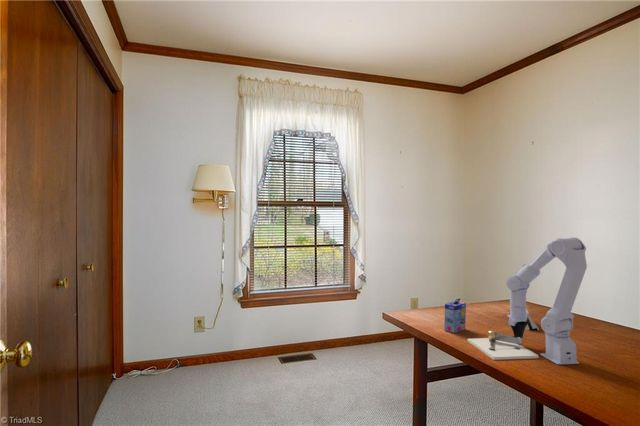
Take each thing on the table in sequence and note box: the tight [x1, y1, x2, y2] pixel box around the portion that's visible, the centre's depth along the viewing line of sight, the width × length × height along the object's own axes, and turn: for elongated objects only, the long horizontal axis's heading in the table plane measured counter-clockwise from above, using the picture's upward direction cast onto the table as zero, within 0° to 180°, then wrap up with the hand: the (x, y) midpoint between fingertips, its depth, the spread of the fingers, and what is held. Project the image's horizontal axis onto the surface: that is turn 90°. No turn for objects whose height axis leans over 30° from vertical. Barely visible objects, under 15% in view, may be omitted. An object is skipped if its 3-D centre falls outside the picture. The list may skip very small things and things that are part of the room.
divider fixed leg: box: [490, 341, 494, 350], centre depth 144 cm, size 10×1×1 cm, turn 154°
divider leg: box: [487, 329, 523, 346], centre depth 147 cm, size 12×3×3 cm, turn 52°
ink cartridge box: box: [444, 297, 467, 334], centre depth 168 cm, size 10×6×14 cm, turn 130°
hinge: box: [524, 308, 540, 331], centre depth 174 cm, size 17×5×10 cm, turn 162°
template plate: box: [467, 337, 539, 361], centre depth 143 cm, size 20×17×2 cm
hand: (518, 339), depth 148 cm, fingers closed
